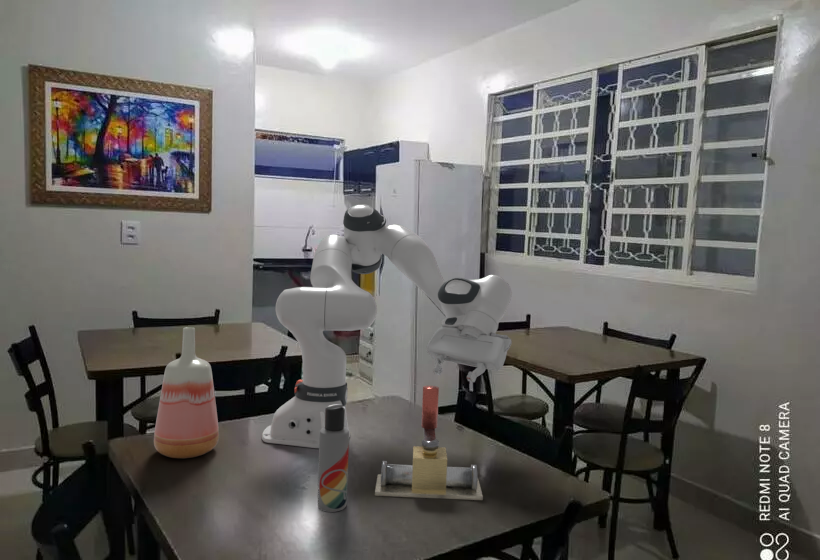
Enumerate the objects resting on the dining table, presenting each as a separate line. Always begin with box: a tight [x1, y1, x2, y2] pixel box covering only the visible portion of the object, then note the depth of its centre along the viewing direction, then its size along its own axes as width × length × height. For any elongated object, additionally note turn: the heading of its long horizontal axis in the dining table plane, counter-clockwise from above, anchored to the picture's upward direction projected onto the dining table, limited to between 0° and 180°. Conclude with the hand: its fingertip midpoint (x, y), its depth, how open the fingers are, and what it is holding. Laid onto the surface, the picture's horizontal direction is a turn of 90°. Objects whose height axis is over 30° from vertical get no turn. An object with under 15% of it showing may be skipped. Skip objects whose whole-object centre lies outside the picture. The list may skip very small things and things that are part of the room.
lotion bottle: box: [317, 405, 350, 513], centre depth 117 cm, size 6×6×20 cm
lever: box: [420, 385, 440, 450], centre depth 132 cm, size 14×4×10 cm, turn 179°
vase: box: [153, 326, 220, 459], centre depth 142 cm, size 14×14×30 cm
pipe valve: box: [374, 445, 484, 501], centre depth 127 cm, size 22×9×9 cm, turn 89°
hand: (452, 376), depth 142 cm, fingers open, 8 cm apart
